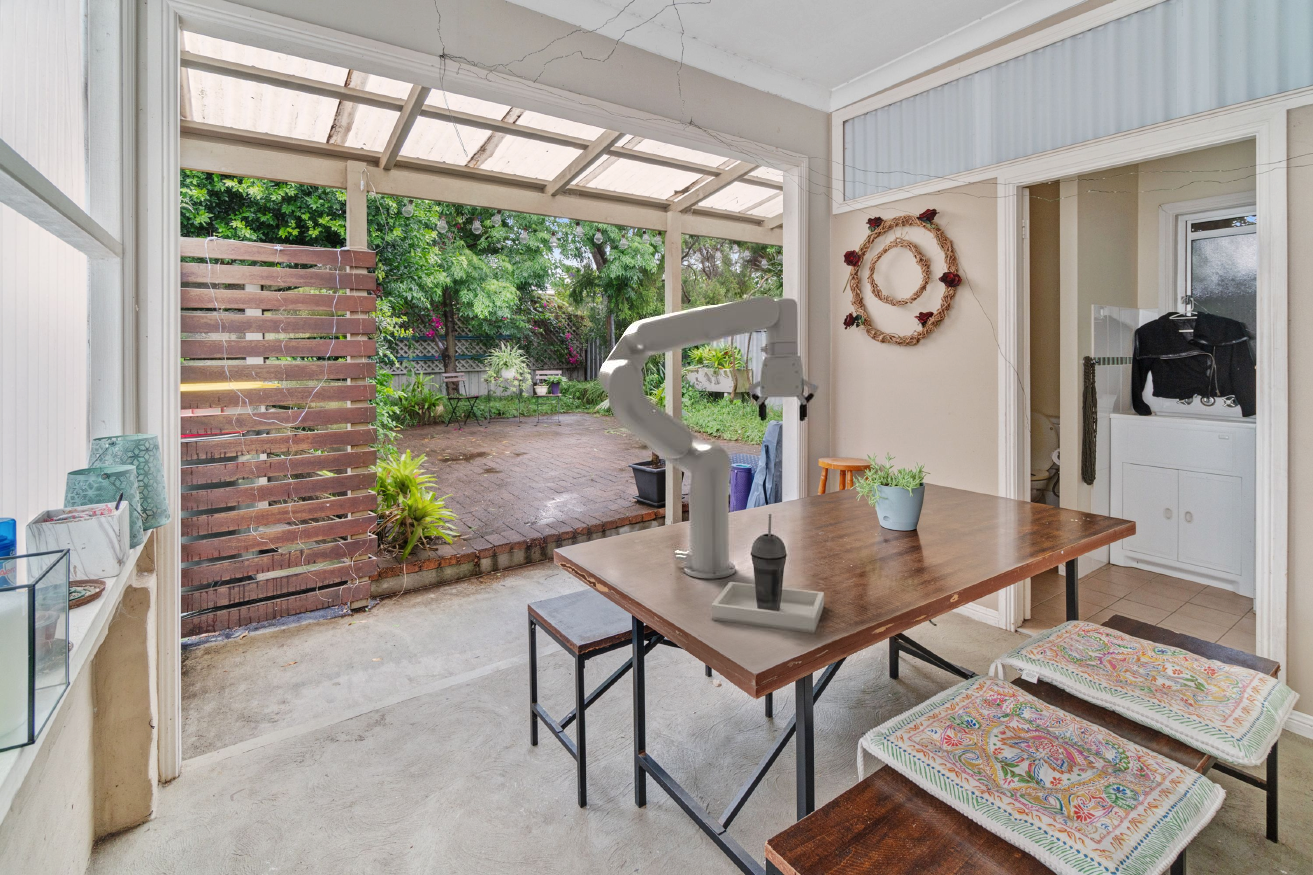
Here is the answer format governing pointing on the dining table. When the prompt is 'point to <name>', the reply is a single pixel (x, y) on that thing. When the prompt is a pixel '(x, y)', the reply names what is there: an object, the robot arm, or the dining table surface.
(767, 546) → the beverage cup
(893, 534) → the dining table surface
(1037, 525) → the dining table surface
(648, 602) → the dining table surface
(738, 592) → the tray
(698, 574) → the robot arm
